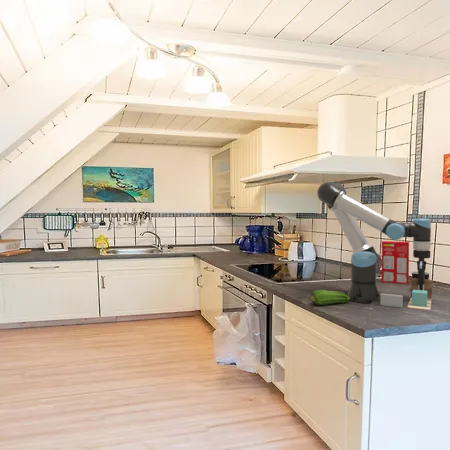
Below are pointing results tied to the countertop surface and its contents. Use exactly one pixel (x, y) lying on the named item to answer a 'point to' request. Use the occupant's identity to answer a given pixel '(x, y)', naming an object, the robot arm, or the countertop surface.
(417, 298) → the teal block
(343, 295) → the vegetable
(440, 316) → the countertop surface
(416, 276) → the coffee mug
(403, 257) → the food packaging
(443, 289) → the countertop surface
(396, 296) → the gray rectangular block
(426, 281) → the wooden l-shaped stand
